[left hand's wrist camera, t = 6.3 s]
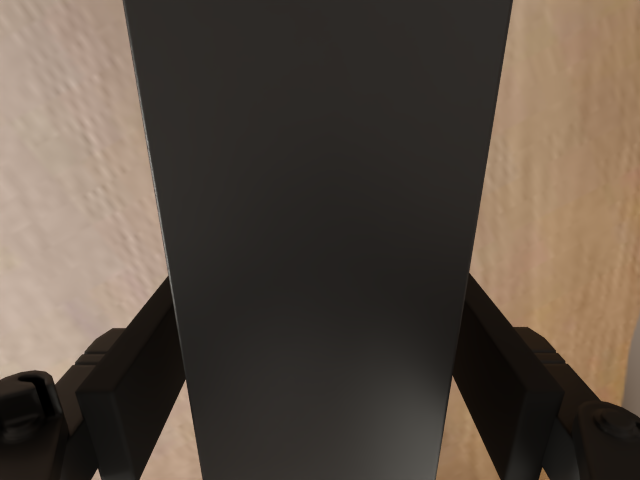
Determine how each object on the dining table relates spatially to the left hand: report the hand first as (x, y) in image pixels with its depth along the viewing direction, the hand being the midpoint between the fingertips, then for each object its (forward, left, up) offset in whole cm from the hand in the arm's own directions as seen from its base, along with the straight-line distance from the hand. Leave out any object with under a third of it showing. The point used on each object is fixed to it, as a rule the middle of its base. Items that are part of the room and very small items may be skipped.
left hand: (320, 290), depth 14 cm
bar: (+10, 0, -1) cm, 10 cm away
